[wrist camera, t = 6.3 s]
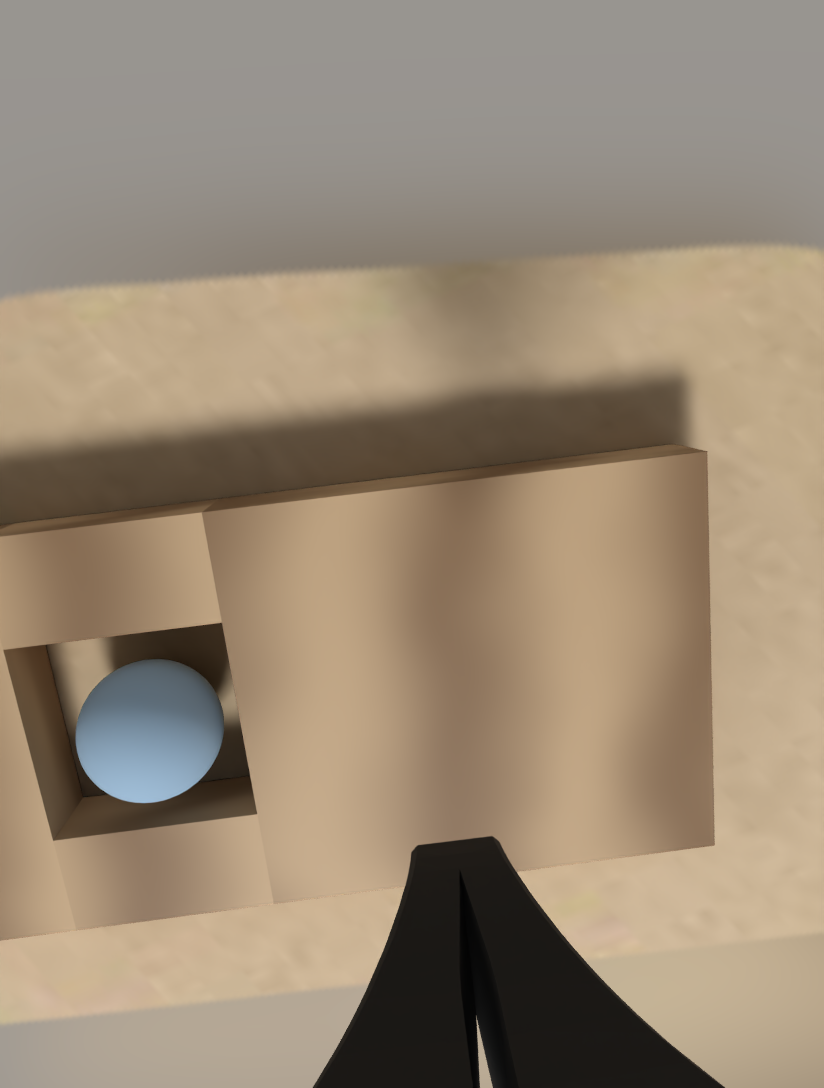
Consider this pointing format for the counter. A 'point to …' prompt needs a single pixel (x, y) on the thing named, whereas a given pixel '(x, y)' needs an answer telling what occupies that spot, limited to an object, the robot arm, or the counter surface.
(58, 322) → the counter surface
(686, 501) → the board
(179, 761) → the ball
